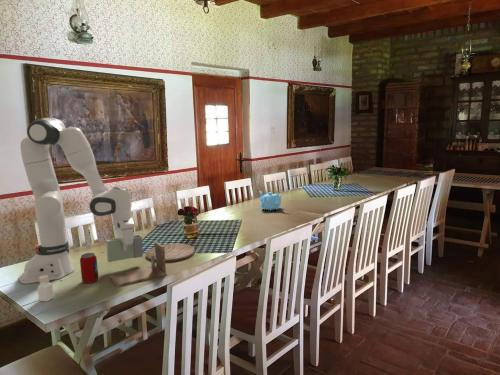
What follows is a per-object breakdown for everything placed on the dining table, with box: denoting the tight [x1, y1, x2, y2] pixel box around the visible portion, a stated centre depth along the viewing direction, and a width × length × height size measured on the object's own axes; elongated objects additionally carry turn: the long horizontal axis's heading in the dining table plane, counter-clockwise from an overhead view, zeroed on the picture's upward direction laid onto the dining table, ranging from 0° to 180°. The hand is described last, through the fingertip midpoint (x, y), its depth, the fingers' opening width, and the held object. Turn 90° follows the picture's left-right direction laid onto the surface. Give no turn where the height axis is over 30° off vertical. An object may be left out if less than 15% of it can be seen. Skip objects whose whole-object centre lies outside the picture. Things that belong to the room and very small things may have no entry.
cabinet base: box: [109, 241, 168, 288], centre depth 169 cm, size 22×12×13 cm, turn 123°
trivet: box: [145, 243, 195, 264], centre depth 198 cm, size 25×25×2 cm
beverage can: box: [79, 252, 99, 284], centre depth 165 cm, size 7×7×12 cm
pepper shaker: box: [37, 275, 55, 302], centre depth 148 cm, size 4×4×10 cm
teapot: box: [259, 190, 283, 211], centre depth 292 cm, size 16×20×14 cm
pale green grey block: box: [106, 234, 144, 263], centre depth 179 cm, size 16×4×10 cm, turn 123°
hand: (123, 249), depth 179 cm, fingers closed on pale green grey block, 2 cm apart
